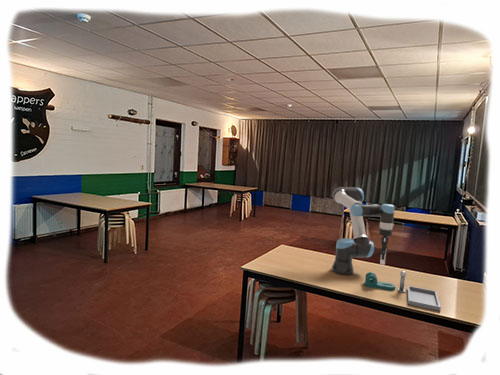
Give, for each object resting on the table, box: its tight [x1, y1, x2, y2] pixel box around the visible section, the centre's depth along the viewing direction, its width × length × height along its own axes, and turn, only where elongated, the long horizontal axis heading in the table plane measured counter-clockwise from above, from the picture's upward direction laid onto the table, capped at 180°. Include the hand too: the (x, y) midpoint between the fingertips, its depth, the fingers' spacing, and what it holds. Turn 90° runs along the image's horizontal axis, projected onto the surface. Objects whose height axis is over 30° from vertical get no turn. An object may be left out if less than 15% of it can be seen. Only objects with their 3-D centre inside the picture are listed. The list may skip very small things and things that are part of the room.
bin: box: [406, 285, 442, 312], centre depth 195 cm, size 16×24×2 cm, turn 156°
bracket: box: [364, 271, 396, 291], centre depth 211 cm, size 18×7×8 cm, turn 74°
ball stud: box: [397, 270, 407, 293], centre depth 205 cm, size 4×4×13 cm
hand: (382, 261), depth 209 cm, fingers open, 13 cm apart
